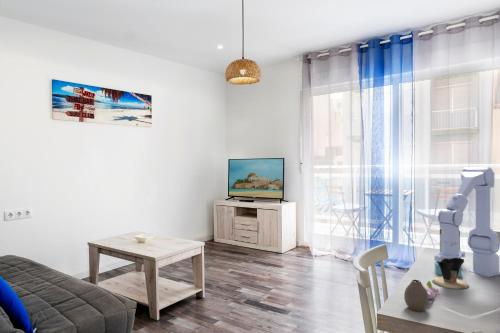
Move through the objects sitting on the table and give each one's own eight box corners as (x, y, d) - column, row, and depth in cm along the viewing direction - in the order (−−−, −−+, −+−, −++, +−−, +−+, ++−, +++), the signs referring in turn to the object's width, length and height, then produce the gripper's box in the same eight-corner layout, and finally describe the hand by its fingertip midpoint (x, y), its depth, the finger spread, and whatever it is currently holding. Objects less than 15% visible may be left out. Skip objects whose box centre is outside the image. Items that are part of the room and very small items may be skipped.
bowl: (444, 270, 145) (444, 259, 145) (465, 276, 137) (465, 265, 137) (430, 273, 141) (430, 262, 141) (450, 280, 133) (450, 268, 133)
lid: (446, 277, 135) (446, 264, 135) (474, 286, 125) (474, 272, 125) (426, 281, 130) (426, 268, 130) (454, 290, 120) (454, 277, 120)
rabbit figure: (424, 294, 123) (410, 299, 112) (425, 277, 123) (411, 280, 112) (443, 298, 118) (430, 304, 108) (444, 281, 119) (431, 285, 108)
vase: (431, 314, 103) (431, 285, 103) (407, 312, 104) (407, 283, 104) (424, 305, 110) (424, 277, 110) (401, 303, 111) (401, 276, 111)
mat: (445, 278, 135) (445, 276, 135) (476, 287, 125) (476, 286, 125) (424, 282, 130) (424, 281, 130) (455, 293, 119) (455, 291, 119)
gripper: (447, 246, 121) (447, 284, 121) (473, 242, 127) (473, 278, 127) (429, 242, 127) (429, 278, 127) (455, 238, 133) (455, 273, 133)
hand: (450, 278), depth 127 cm, fingers open, 4 cm apart
